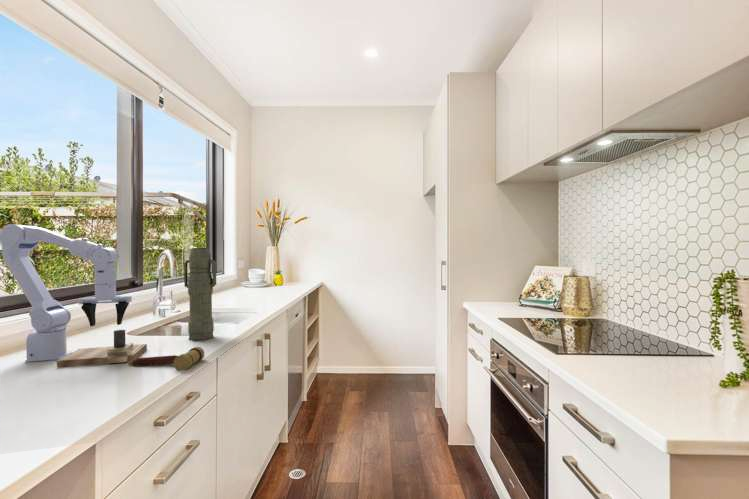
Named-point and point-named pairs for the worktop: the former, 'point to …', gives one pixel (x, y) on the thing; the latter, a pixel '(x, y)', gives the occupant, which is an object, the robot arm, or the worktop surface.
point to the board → (96, 356)
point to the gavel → (172, 359)
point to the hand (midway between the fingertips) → (106, 325)
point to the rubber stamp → (119, 348)
